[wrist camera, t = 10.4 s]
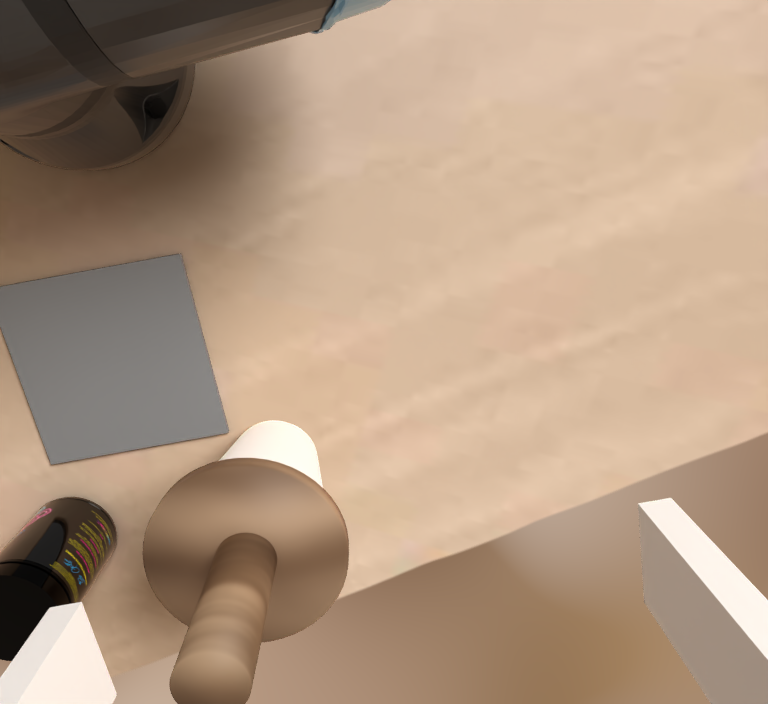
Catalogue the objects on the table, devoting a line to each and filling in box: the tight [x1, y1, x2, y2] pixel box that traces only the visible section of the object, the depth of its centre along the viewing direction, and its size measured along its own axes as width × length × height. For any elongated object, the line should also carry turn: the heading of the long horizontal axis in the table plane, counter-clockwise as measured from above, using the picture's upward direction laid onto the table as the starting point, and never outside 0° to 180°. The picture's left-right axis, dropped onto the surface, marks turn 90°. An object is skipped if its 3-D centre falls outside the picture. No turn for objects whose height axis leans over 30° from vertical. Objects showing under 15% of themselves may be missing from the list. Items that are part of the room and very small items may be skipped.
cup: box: [219, 420, 323, 488], centre depth 43 cm, size 9×9×12 cm
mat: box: [0, 253, 229, 465], centre depth 46 cm, size 14×14×1 cm
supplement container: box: [0, 497, 117, 661], centre depth 45 cm, size 7×7×10 cm
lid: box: [143, 458, 349, 704], centre depth 33 cm, size 12×12×10 cm
